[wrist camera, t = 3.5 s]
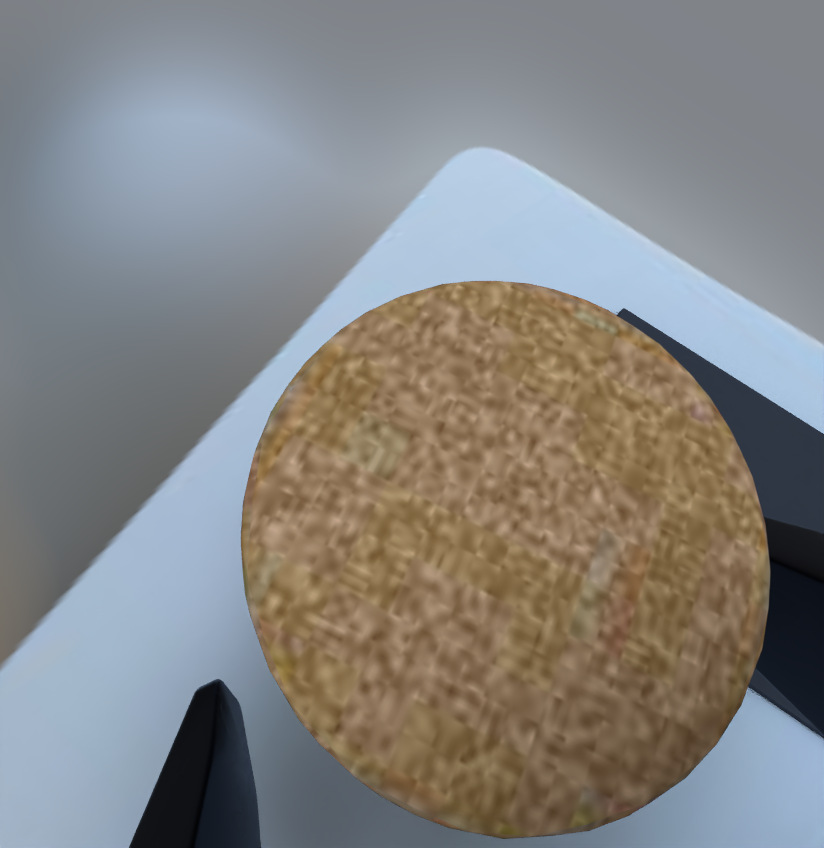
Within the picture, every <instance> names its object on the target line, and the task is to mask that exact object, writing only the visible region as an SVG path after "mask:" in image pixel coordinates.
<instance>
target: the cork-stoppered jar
mask: <svg viewBox="0 0 824 848" xmlns="http://www.w3.org/2000/svg"><path fill="white" fill-rule="evenodd" d="M241 551H242V566H243V578H244V587H245V596H246V600H247V604H248V608H249V613H250V616H251V619H252V622H253V625H254V628H255V631H256V634H257V636H258V639H259V642H260V645H261V648H262V650H263V653H264V656H265V659H266V661H267V664H268V667H269V670H270V672H271V673H272V675H273V677H274V679H275V680H276V682H277V684H278V685H279V687H280V689H281V690H282V692H283V694H284V695H285V697H286V699H287V700H288V702H289V704H290V706H291V707H292V709H293V711H294V712H295V714H296V716H297V717H298V719H299V720H300V722H301V723H302V724H303V725H304V726H305V727H306V729H307V730H308V731H309V732H310V733H311V734H312V736H313V737H314V738H315V739H316V740H317V741H318V743H319V744H320V745H321V746H322V747H323V748H324V749H325V750H327V751H328V752H329V753H330V754H331V755H332V756H333V757H334V758H335V759H336V760H337V761H338V762H339V763H340V764H341V765H342V766H344V767H345V768H346V769H347V770H348V771H349V772H350V773H351V774H352V775H353V776H354V777H355V778H356V779H358V780H359V781H361V782H362V783H363V784H365V785H366V786H367V787H369V788H370V789H372V790H373V791H374V792H376V793H377V794H378V795H380V796H381V797H383V798H384V799H386V800H388V801H390V802H392V803H394V804H396V805H398V806H399V807H401V808H403V809H405V810H407V811H409V812H411V813H413V814H415V815H417V816H419V817H422V818H425V819H427V820H430V821H432V822H435V823H437V824H440V825H443V826H445V827H448V828H451V829H456V830H461V831H466V832H472V833H477V834H482V835H487V836H492V837H497V838H502V839H508V838H524V837H540V836H553V835H561V834H569V833H576V832H584V831H590V830H592V829H595V828H598V827H600V826H603V825H605V824H608V823H611V822H613V821H616V820H619V819H621V818H624V817H626V816H629V815H630V814H632V813H634V812H635V811H637V810H639V809H640V808H642V807H644V806H645V805H647V804H649V803H650V802H652V801H653V800H655V799H656V798H658V797H659V796H660V795H662V794H663V793H665V792H666V791H668V790H669V789H670V788H672V787H673V786H675V785H676V784H678V783H679V782H681V781H682V780H683V779H685V778H686V777H687V776H688V775H689V774H690V773H691V772H692V770H693V769H694V768H695V767H696V766H697V765H698V764H699V763H700V762H701V761H702V760H703V758H704V757H705V756H706V755H707V754H708V753H709V752H710V751H711V750H712V749H713V748H714V746H715V745H716V744H717V743H718V741H719V739H720V738H721V736H722V735H723V733H724V732H725V730H726V728H727V727H728V725H729V724H730V722H731V720H732V719H733V717H734V716H735V714H736V713H737V711H738V709H739V708H740V706H741V704H742V702H743V699H744V696H745V694H746V691H747V688H748V686H749V683H750V680H751V677H752V675H753V672H754V669H755V667H756V664H757V661H758V659H759V656H760V653H761V651H762V647H763V641H764V634H765V628H766V621H767V614H768V608H769V589H770V563H769V553H768V544H767V534H766V525H765V521H764V518H763V514H762V510H761V507H760V503H759V499H758V496H757V492H756V488H755V484H754V481H753V477H752V475H751V472H750V470H749V468H748V466H747V464H746V462H745V459H744V457H743V455H742V453H741V451H740V448H739V446H738V444H737V442H736V440H735V437H734V435H733V434H732V432H731V430H730V428H729V427H728V425H727V424H726V422H725V420H724V419H723V417H722V416H721V414H720V412H719V411H718V409H717V408H716V406H715V405H714V403H713V401H712V400H711V398H710V397H709V396H708V395H707V393H706V392H705V391H704V390H703V389H702V387H701V386H700V385H699V384H698V383H697V381H696V380H695V379H694V378H693V377H692V375H691V374H690V373H689V372H688V371H687V370H686V369H685V368H684V367H683V366H682V365H681V364H680V363H679V362H678V361H677V360H676V359H674V358H673V357H672V356H671V355H670V354H669V353H668V352H667V351H666V350H665V349H664V348H663V347H662V346H661V345H660V344H658V343H657V342H656V341H654V340H653V339H651V338H650V337H648V336H647V335H646V334H644V333H643V332H641V331H640V330H639V329H637V328H636V327H634V326H632V325H631V324H629V323H628V322H626V321H624V320H623V319H621V318H620V317H618V316H616V315H615V314H613V313H612V312H610V311H609V310H606V309H604V308H602V307H600V306H598V305H595V304H593V303H591V302H589V301H587V300H584V299H581V298H578V297H575V296H572V295H569V294H566V293H563V292H560V291H557V290H554V289H550V288H545V287H541V286H537V285H532V284H527V283H515V282H502V281H470V282H459V283H450V284H442V285H438V286H435V287H431V288H428V289H424V290H421V291H417V292H414V293H410V294H407V295H403V296H400V297H398V298H396V299H394V300H392V301H390V302H387V303H385V304H383V305H381V306H379V307H377V308H375V309H373V310H370V311H368V312H366V313H365V314H363V315H362V316H360V317H359V318H357V319H356V320H354V321H353V322H351V323H350V324H348V325H347V326H345V327H344V328H343V329H341V330H340V331H339V332H338V333H337V334H335V335H334V336H333V337H332V338H331V339H330V340H329V341H327V342H326V343H325V344H324V345H323V346H322V347H321V348H320V349H319V350H318V351H317V352H316V353H315V354H314V355H313V356H312V357H311V358H310V359H309V360H308V361H307V362H306V363H305V364H304V365H303V366H302V368H301V369H300V370H299V372H298V373H297V374H296V375H295V377H294V378H293V379H292V381H291V382H290V383H289V385H288V386H287V387H286V389H285V391H284V392H283V394H282V395H281V397H280V399H279V400H278V402H277V403H276V405H275V407H274V408H273V410H272V411H271V413H270V416H269V418H268V421H267V423H266V426H265V428H264V431H263V433H262V435H261V438H260V440H259V443H258V445H257V448H256V451H255V454H254V457H253V461H252V465H251V469H250V474H249V478H248V483H247V487H246V491H245V496H244V501H243V512H242V527H241Z"/></svg>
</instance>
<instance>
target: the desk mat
mask: <svg viewBox="0 0 824 848" xmlns="http://www.w3.org/2000/svg"><path fill="white" fill-rule="evenodd" d="M617 316H618V317H620V318H621V319H623V320H624V321H626V322H628V323H629V324H631V325H632V326H634V327H636V328H637V329H639V330H640V331H641V332H643V333H644V334H646V335H647V336H648V337H650V338H651V339H653V340H654V341H656V342H657V343H658V344H660V345H661V346H662V347H663V348H664V349H665V350H666V351H667V352H668V353H669V354H670V355H671V356H672V357H673V358H674V359H676V360H677V361H678V362H679V363H680V364H681V365H682V366H683V367H684V368H685V369H686V370H687V371H688V372H689V373H690V374H691V375H692V377H693V378H694V379H695V380H696V381H697V383H698V384H699V385H700V386H701V387H702V389H703V390H704V391H705V392H706V393H707V395H708V396H709V397H710V398H711V400H712V401H713V403H714V405H715V406H716V408H717V409H718V411H719V412H720V414H721V416H722V417H723V419H724V420H725V422H726V424H727V425H728V427H729V428H730V430H731V432H732V434H733V435H734V437H735V440H736V442H737V444H738V446H739V448H740V451H741V453H742V455H743V457H744V459H745V462H746V464H747V466H748V468H749V470H750V472H751V475H752V477H753V481H754V484H755V488H756V492H757V496H758V499H759V503H760V507H761V510H762V514H763V516H765V517H768V518H772V519H776V520H779V521H783V522H787V523H791V524H794V525H798V526H802V527H805V528H809V529H813V530H817V531H819V532H820V533H824V434H823V433H821V432H820V431H818V430H816V429H815V428H813V427H812V426H810V425H808V424H807V423H805V422H804V421H802V420H800V419H799V418H797V417H796V416H794V415H793V414H791V413H789V412H788V411H786V410H785V409H783V408H781V407H780V406H778V405H777V404H775V403H774V402H772V401H770V400H769V399H767V398H766V397H764V396H762V395H761V394H759V393H758V392H756V391H755V390H753V389H751V388H750V387H748V386H747V385H745V384H743V383H742V382H740V381H739V380H737V379H736V378H734V377H732V376H731V375H729V374H728V373H726V372H724V371H723V370H721V369H720V368H718V367H717V366H715V365H713V364H712V363H710V362H709V361H707V360H705V359H704V358H702V357H701V356H699V355H698V354H696V353H694V352H693V351H691V350H690V349H688V348H686V347H685V346H683V345H682V344H680V343H679V342H677V341H675V340H674V339H672V338H671V337H669V336H667V335H666V334H664V333H663V332H661V331H659V330H658V329H656V328H655V327H653V326H652V325H650V324H648V323H647V322H645V321H644V320H642V319H640V318H639V317H637V316H636V315H634V314H633V313H631V312H629V311H628V310H626V309H625V308H623V309H622V310H621V311H620V312H619V314H618V315H617ZM749 687H750V688H752V689H753V690H755V691H756V692H758V693H759V694H761V695H762V696H764V697H765V698H766V699H768V700H769V701H771V702H772V703H774V704H775V705H777V706H778V707H780V708H781V709H782V710H784V711H785V712H787V713H788V714H790V715H791V716H793V717H794V718H796V719H797V720H798V721H800V722H801V723H803V724H804V725H806V726H807V727H809V728H810V729H812V730H813V731H814V732H816V733H817V734H819V735H820V736H822V737H823V738H824V736H823V735H822V734H821V733H820V732H819V731H818V730H817V729H816V728H815V727H814V726H813V725H812V724H811V723H810V722H809V721H808V720H807V719H806V718H805V717H804V716H803V715H802V714H801V713H800V712H799V711H798V710H797V709H796V708H795V707H794V706H793V705H792V704H791V703H790V702H789V701H788V700H787V699H786V698H785V697H783V696H782V695H781V694H780V693H779V692H778V691H777V690H776V689H775V688H774V687H773V686H772V685H771V684H770V683H769V682H768V681H767V680H766V679H765V678H764V677H763V676H762V675H761V674H760V673H759V672H758V671H757V670H756V669H754V672H753V675H752V677H751V680H750V683H749Z"/></svg>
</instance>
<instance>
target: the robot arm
mask: <svg viewBox="0 0 824 848" xmlns="http://www.w3.org/2000/svg"><path fill="white" fill-rule="evenodd" d="M763 518H764V521H765V525H766V534H767V544H768V553H769V563H770V589H769V608H768V614H767V621H766V628H765V634H764V641H763V647H762V651H761V653H760V656H759V659H758V661H757V664H756V667H755V669H756V670H757V671H758V672H759V673H760V674H761V675H762V676H763V677H764V678H765V679H766V680H767V681H768V682H769V683H770V684H771V685H772V686H773V687H774V688H775V689H776V690H777V691H778V692H779V693H780V694H781V695H782V696H783V697H785V698H786V699H787V700H788V701H789V702H790V703H791V704H792V705H793V706H794V707H795V708H796V709H797V710H798V711H799V712H800V713H801V714H802V715H803V716H804V717H805V718H806V719H807V720H808V721H809V722H810V723H811V724H812V725H813V726H814V727H815V728H816V729H817V730H818V731H819V732H820V733H821V734H822V735H823V736H824V533H820V532H819V531H817V530H813V529H809V528H805V527H802V526H798V525H794V524H791V523H787V522H783V521H779V520H776V519H772V518H768V517H765V516H763ZM129 848H261V842H260V828H259V814H258V803H257V795H256V788H255V782H254V777H253V771H252V766H251V760H250V755H249V749H248V744H247V738H246V733H245V727H244V722H243V716H242V711H241V707H240V705H239V702H238V701H237V699H236V698H235V696H234V695H233V694H232V693H231V691H230V690H229V689H228V688H227V686H226V685H225V684H224V682H223V681H222V680H220V679H216V680H214V681H212V682H210V683H207V684H205V685H203V686H201V687H200V688H198V689H197V690H196V692H195V693H194V696H193V698H192V700H191V703H190V705H189V707H188V710H187V712H186V714H185V717H184V719H183V721H182V724H181V726H180V729H179V731H178V733H177V736H176V738H175V740H174V743H173V745H172V747H171V750H170V752H169V754H168V757H167V759H166V762H165V764H164V766H163V769H162V771H161V773H160V776H159V778H158V780H157V783H156V785H155V787H154V790H153V792H152V795H151V797H150V799H149V802H148V804H147V806H146V809H145V811H144V813H143V816H142V818H141V820H140V823H139V825H138V828H137V830H136V832H135V835H134V837H133V839H132V842H131V844H130V846H129Z"/></svg>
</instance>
